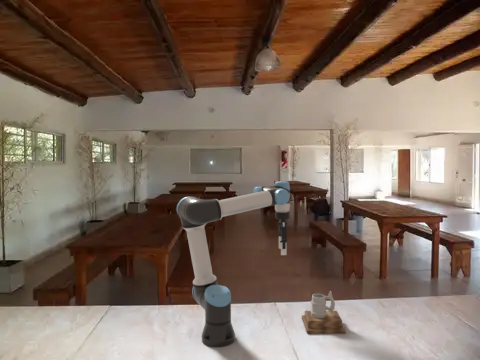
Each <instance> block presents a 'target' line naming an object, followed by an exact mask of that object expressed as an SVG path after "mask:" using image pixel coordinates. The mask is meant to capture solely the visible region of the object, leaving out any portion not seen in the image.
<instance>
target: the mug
mask: <svg viewBox="0 0 480 360" xmlns="http://www.w3.org/2000/svg"><path fill="white" fill-rule="evenodd" d="M332 293H333V292H332V291H331V290H330V291H329V292H328V295H325V294H322V293H313V294H312V295H311V302H310V304H311V310H310V311H311V316H312V317H315V318H325V317H326V314H327V311H326V310H328V311H330V312H331V313H332V312H333V310H334V309H335V306H336V302H335V299H334V297H333V296H334V295H333V294H332ZM326 300H329V301H330V306H327V301H326Z"/></svg>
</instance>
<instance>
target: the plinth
mask: <svg viewBox="0 0 480 360" xmlns="http://www.w3.org/2000/svg"><path fill="white" fill-rule="evenodd" d="M301 320H302V323H303V327H304V329H305V332H306V334H307V335H312V334H313V335H321V334H323V335H326V334H327V335H328V334H330V335H333V334H334V335H335V334H337V335H338V334H340V335H341V334H342V335H343V334H344V335H345V334H347V332H346V331H347V330H346V328H345V327H344V324H343V319H342V318H341V315H340V314H339V312H338V311H337V310H335V311H333V312H332V313H331V312H330V311H327V314H326V317H325V318H315V317H312V316H311V310H305V311H304V314H302V315H301Z"/></svg>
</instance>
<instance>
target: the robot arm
mask: <svg viewBox="0 0 480 360" xmlns="http://www.w3.org/2000/svg"><path fill="white" fill-rule="evenodd" d="M252 191H253V193H248V194H244V195H239V196H233V197H229V198H224V199H220V200H219V199H217V198H213V199H202V198H198V197H196V196H185V197H183V198H181V199H180V200H179V202H178V203H177V205H176V212H177V216H178V218H179V219H180V222H181V227H182V229H183V230H185V231H186V237H187V240H188V241H187V242H188V247H189V252H190V258H191V265H192V268H193V274H194V278H193V280H192V290H191V291H192V293H191V294H192V297H193V299H194V301H195V302H196V303H197V305H200V307H201V308H202V309H203V310H204V313H205V314H204V318H205V323H204V326H203V329H202V333H201V341H202V343H203V344H204V345H206V346H210V347H217V348H218V347H219V348H220V347H225V346H229V345H231V344H232V343H234V342H235V340H236V332H235V330H234V327H233V324H232V296H231V295H232V293H231V290H230V289H229V288H228V287H227V286H226V285H221V284H219V283H218V279H217V276H216V275H215V274H214V273H213V268H212V263H211V258H210V252H209V246H208V240H207V236H206V235H207V234H206V229H205V226H206V225H207V224H208V223H212V222H216V221H221V220H222V218H223V217H228V216H229V217H230V216H232V215H237V214H241V213H245V212H249V211H250V212H251V211H254V210H258V209H263V208H266V207H270V206H274V210H275V212H274V218H275V219H276V220H278V221H277V223H278V249H279V250H280V256H287V251H288V250H287V245H288V244H287V242H288V237H287V235H288V234H287V222H286V220H290V217H291V214H290V213H291V212H290V211H291V210H290V207H291V206H292V205H291V204H290V203H291V202H290V201H291V198H290V197H291V195H290V193H291V192H290V191H291V186H290V182H289V181H285V180H282V181H281V180H279V181H275V182H274V185H266V186H265V185H262V186H255V187H254V188H253V190H252Z"/></svg>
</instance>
